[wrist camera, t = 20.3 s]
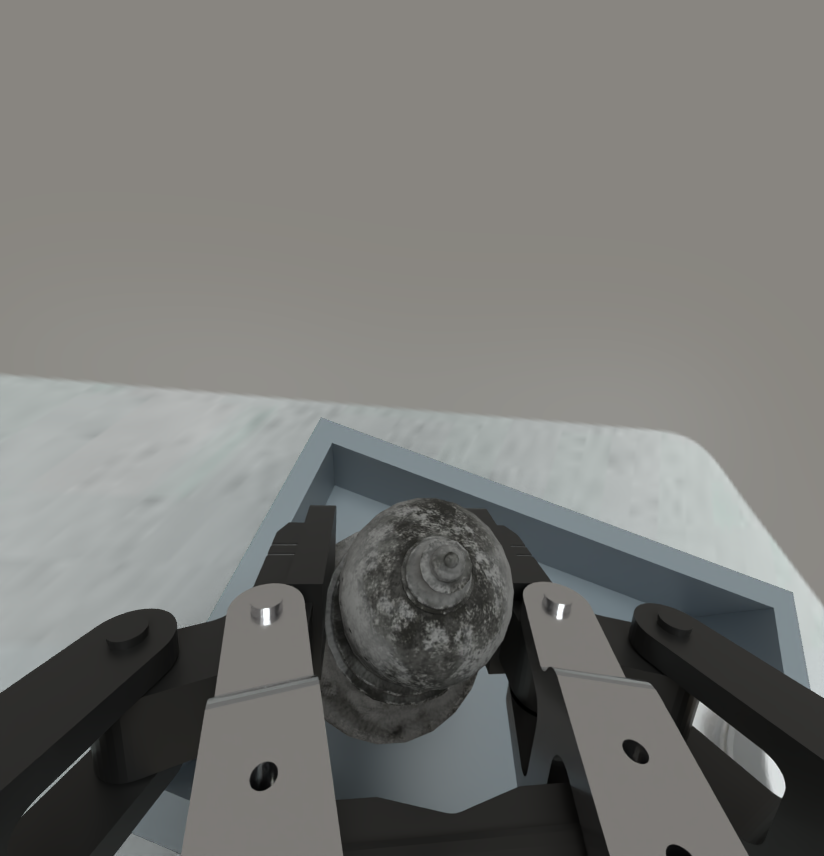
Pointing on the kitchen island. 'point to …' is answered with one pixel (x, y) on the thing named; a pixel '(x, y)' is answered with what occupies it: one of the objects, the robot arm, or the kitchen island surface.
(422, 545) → the grey stone chess piece
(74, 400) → the kitchen island surface
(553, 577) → the tote
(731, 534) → the kitchen island surface
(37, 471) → the kitchen island surface
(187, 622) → the kitchen island surface
